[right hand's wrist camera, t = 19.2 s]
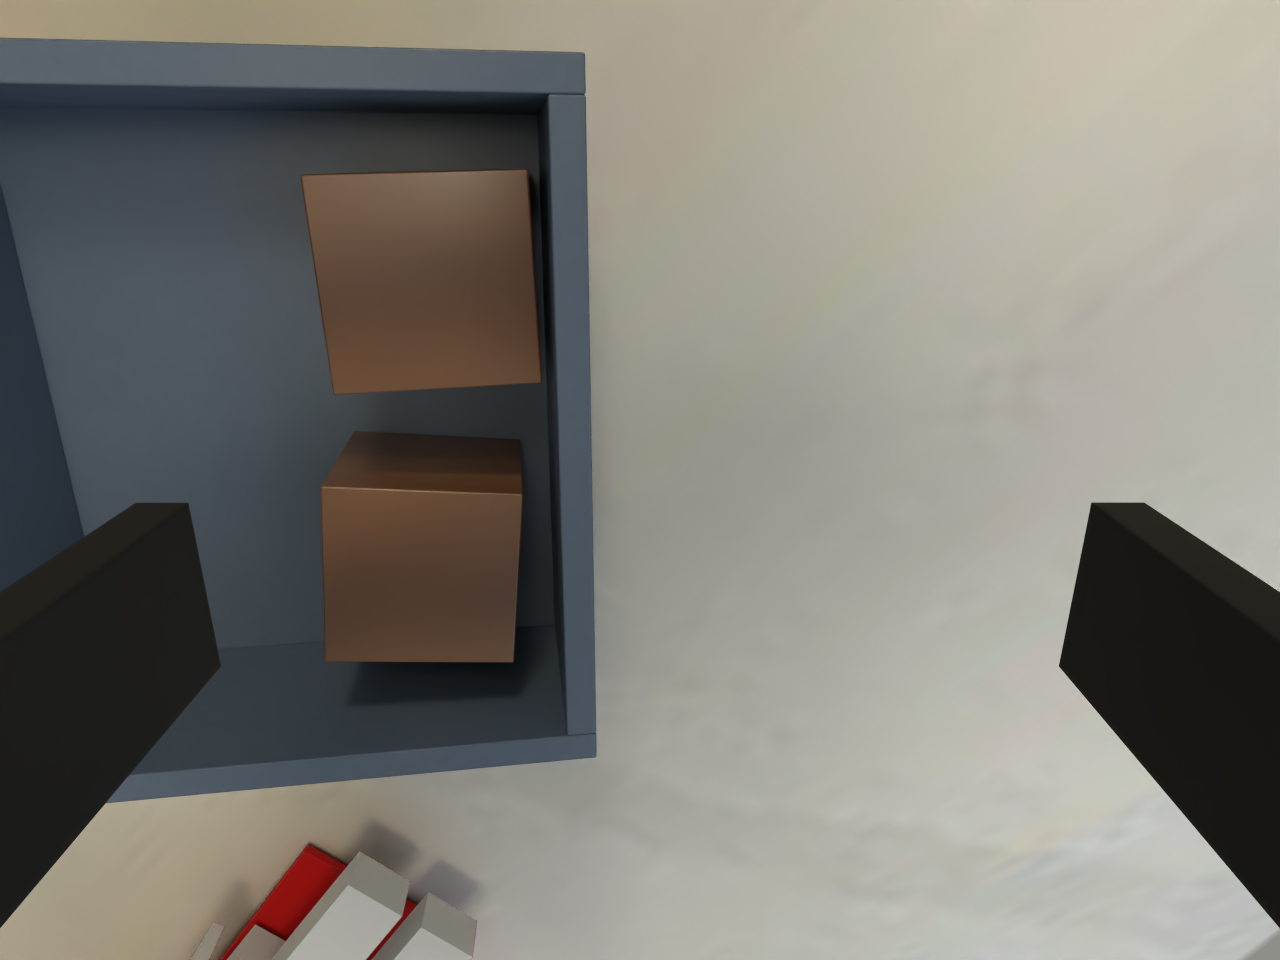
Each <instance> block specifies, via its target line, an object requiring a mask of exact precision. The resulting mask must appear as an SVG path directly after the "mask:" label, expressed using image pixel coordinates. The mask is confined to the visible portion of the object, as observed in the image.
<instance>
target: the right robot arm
mask: <svg viewBox="0 0 1280 960" xmlns="http://www.w3.org/2000/svg"><path fill="white" fill-rule="evenodd" d="M220 667H221V664H220V659H219V654H218V649H217V644H216V639H215V634H214V629H213V624H212V619H211V614H210V608H209V603H208V598H207V593H206V588H205V583H204V578H203V573H202V568H201V563H200V558H199V553H198V548H197V543H196V538H195V533H194V528H193V523H192V518H191V513H190V508H189V503H135V504H133V505H132V506H130V507H128V508H127V509H125V510H124V511H122V512H121V513H119V514H118V515H116V516H115V517H113V518H112V519H110V520H109V521H107V522H106V523H104V524H103V525H101V526H100V527H98V528H97V529H95V530H94V531H92V532H91V533H89V534H88V535H86V536H85V537H83V538H82V539H80V540H79V541H77V542H76V543H74V544H72V545H71V546H69V547H68V548H66V549H65V550H63V551H62V552H60V553H59V554H57V555H56V556H54V557H53V558H51V559H50V560H48V561H47V562H45V563H44V564H42V565H41V566H39V567H38V568H36V569H35V570H33V571H32V572H30V573H29V574H27V575H26V576H24V577H23V578H21V579H20V580H18V581H16V582H15V583H13V584H12V585H10V586H9V587H7V588H6V589H4V590H3V591H1V592H0V928H1V926H2V925H3V924H4V923H5V922H6V921H7V919H8V918H9V917H10V916H11V915H12V913H13V912H14V911H15V910H16V909H17V908H18V906H19V905H20V904H21V903H22V902H23V900H24V899H25V898H26V897H27V896H28V894H29V893H30V892H31V891H32V890H33V889H34V887H35V886H36V885H37V884H38V883H39V881H40V880H41V879H42V878H43V877H44V876H45V874H46V873H47V872H48V871H49V870H50V868H51V867H52V866H53V865H54V864H55V862H56V861H57V860H58V859H59V858H60V857H61V855H62V854H63V853H64V852H65V851H66V849H67V848H68V847H69V846H70V845H71V843H72V842H73V841H74V840H75V839H76V838H77V836H78V835H79V834H80V833H81V832H82V830H83V829H84V828H85V827H86V826H87V825H88V823H89V822H90V821H91V820H92V819H93V817H94V816H95V815H96V814H97V813H98V811H99V810H100V809H101V808H102V807H103V806H104V804H105V803H106V802H107V801H108V800H109V798H110V797H111V796H112V795H113V794H114V793H115V791H116V790H117V789H118V788H119V787H120V785H121V784H122V783H123V782H124V781H125V779H126V778H127V777H128V776H129V775H130V774H131V772H132V771H133V770H134V769H135V768H136V766H137V765H138V764H139V763H140V762H141V761H142V759H143V758H144V757H145V756H146V755H147V753H148V752H149V751H150V750H151V749H152V747H153V746H154V745H155V744H156V743H157V742H158V740H159V739H160V738H161V737H162V736H163V734H164V733H165V732H166V731H167V730H168V728H169V727H170V726H171V725H172V724H173V723H174V721H175V720H176V719H177V718H178V717H179V715H180V714H181V713H182V712H183V711H184V710H185V708H186V707H187V706H188V705H189V704H190V702H191V701H192V700H193V699H194V698H195V696H196V695H197V694H198V693H199V692H200V691H201V689H202V688H203V687H204V686H205V685H206V683H207V682H208V681H209V680H210V679H211V678H212V676H213V675H214V674H215V673H216V672H217V670H218V669H219V668H220ZM1059 667H1060V668H1061V669H1062V670H1063V672H1064V673H1065V674H1066V675H1067V676H1068V678H1069V679H1070V680H1071V681H1072V682H1073V683H1074V685H1075V686H1076V687H1077V688H1078V689H1079V691H1080V692H1081V693H1082V694H1083V695H1084V696H1085V698H1086V699H1087V700H1088V701H1089V702H1090V704H1091V705H1092V706H1093V707H1094V708H1095V710H1096V711H1097V712H1098V713H1099V714H1100V715H1101V717H1102V718H1103V719H1104V720H1105V721H1106V723H1107V724H1108V725H1109V726H1110V727H1111V728H1112V730H1113V731H1114V732H1115V733H1116V734H1117V736H1118V737H1119V738H1120V739H1121V740H1122V742H1123V743H1124V744H1125V745H1126V746H1127V747H1128V749H1129V750H1130V751H1131V752H1132V753H1133V755H1134V756H1135V757H1136V758H1137V759H1138V761H1139V762H1140V763H1141V764H1142V765H1143V766H1144V768H1145V769H1146V770H1147V771H1148V772H1149V774H1150V775H1151V776H1152V777H1153V778H1154V779H1155V781H1156V782H1157V783H1158V784H1159V785H1160V787H1161V788H1162V789H1163V790H1164V791H1165V793H1166V794H1167V795H1168V796H1169V797H1170V798H1171V800H1172V801H1173V802H1174V803H1175V804H1176V806H1177V807H1178V808H1179V809H1180V810H1181V811H1182V813H1183V814H1184V815H1185V816H1186V817H1187V819H1188V820H1189V821H1190V822H1191V823H1192V825H1193V826H1194V827H1195V828H1196V829H1197V830H1198V832H1199V833H1200V834H1201V835H1202V836H1203V838H1204V839H1205V840H1206V841H1207V842H1208V843H1209V845H1210V846H1211V847H1212V848H1213V849H1214V851H1215V852H1216V853H1217V854H1218V855H1219V857H1220V858H1221V859H1222V860H1223V861H1224V862H1225V864H1226V865H1227V866H1228V867H1229V868H1230V870H1231V871H1232V872H1233V873H1234V874H1235V876H1236V877H1237V878H1238V879H1239V880H1240V881H1241V883H1242V884H1243V885H1244V886H1245V887H1246V889H1247V890H1248V891H1249V892H1250V893H1251V894H1252V896H1253V897H1254V898H1255V899H1256V900H1257V902H1258V903H1259V904H1260V905H1261V906H1262V908H1263V909H1264V910H1265V911H1266V912H1267V913H1268V915H1269V916H1270V917H1271V918H1272V919H1273V921H1274V922H1275V923H1276V924H1277V925H1278V926H1279V928H1280V592H1279V591H1277V590H1276V589H1274V588H1273V587H1271V586H1270V585H1268V584H1267V583H1265V582H1264V581H1262V580H1260V579H1259V578H1257V577H1256V576H1254V575H1253V574H1251V573H1250V572H1248V571H1247V570H1245V569H1244V568H1242V567H1241V566H1239V565H1238V564H1236V563H1235V562H1233V561H1232V560H1230V559H1229V558H1227V557H1226V556H1224V555H1223V554H1221V553H1220V552H1218V551H1217V550H1215V549H1214V548H1212V547H1211V546H1209V545H1208V544H1206V543H1204V542H1203V541H1201V540H1200V539H1198V538H1197V537H1195V536H1194V535H1192V534H1191V533H1189V532H1188V531H1186V530H1185V529H1183V528H1182V527H1180V526H1179V525H1177V524H1176V523H1174V522H1173V521H1171V520H1170V519H1168V518H1167V517H1165V516H1164V515H1162V514H1161V513H1159V512H1158V511H1156V510H1155V509H1153V508H1152V507H1150V506H1148V505H1147V504H1145V503H1091V508H1090V513H1089V518H1088V523H1087V528H1086V533H1085V538H1084V543H1083V548H1082V553H1081V558H1080V563H1079V568H1078V573H1077V578H1076V583H1075V588H1074V593H1073V598H1072V603H1071V608H1070V614H1069V619H1068V624H1067V629H1066V634H1065V639H1064V644H1063V649H1062V654H1061V659H1060V664H1059Z"/></svg>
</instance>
